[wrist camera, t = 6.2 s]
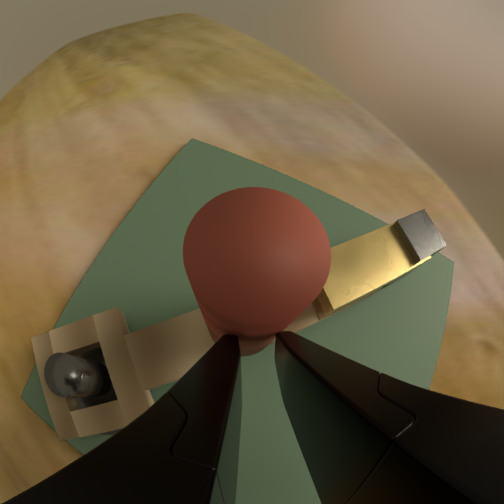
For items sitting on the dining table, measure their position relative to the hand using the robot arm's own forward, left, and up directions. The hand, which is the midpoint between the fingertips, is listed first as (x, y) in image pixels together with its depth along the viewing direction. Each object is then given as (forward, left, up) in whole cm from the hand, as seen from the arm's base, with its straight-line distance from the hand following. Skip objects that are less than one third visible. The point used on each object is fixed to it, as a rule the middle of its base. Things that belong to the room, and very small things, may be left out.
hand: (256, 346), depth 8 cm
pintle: (-5, +6, -8) cm, 11 cm away
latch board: (+1, 0, -8) cm, 8 cm away
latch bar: (0, +2, -7) cm, 7 cm away
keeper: (+7, -4, -8) cm, 11 cm away
